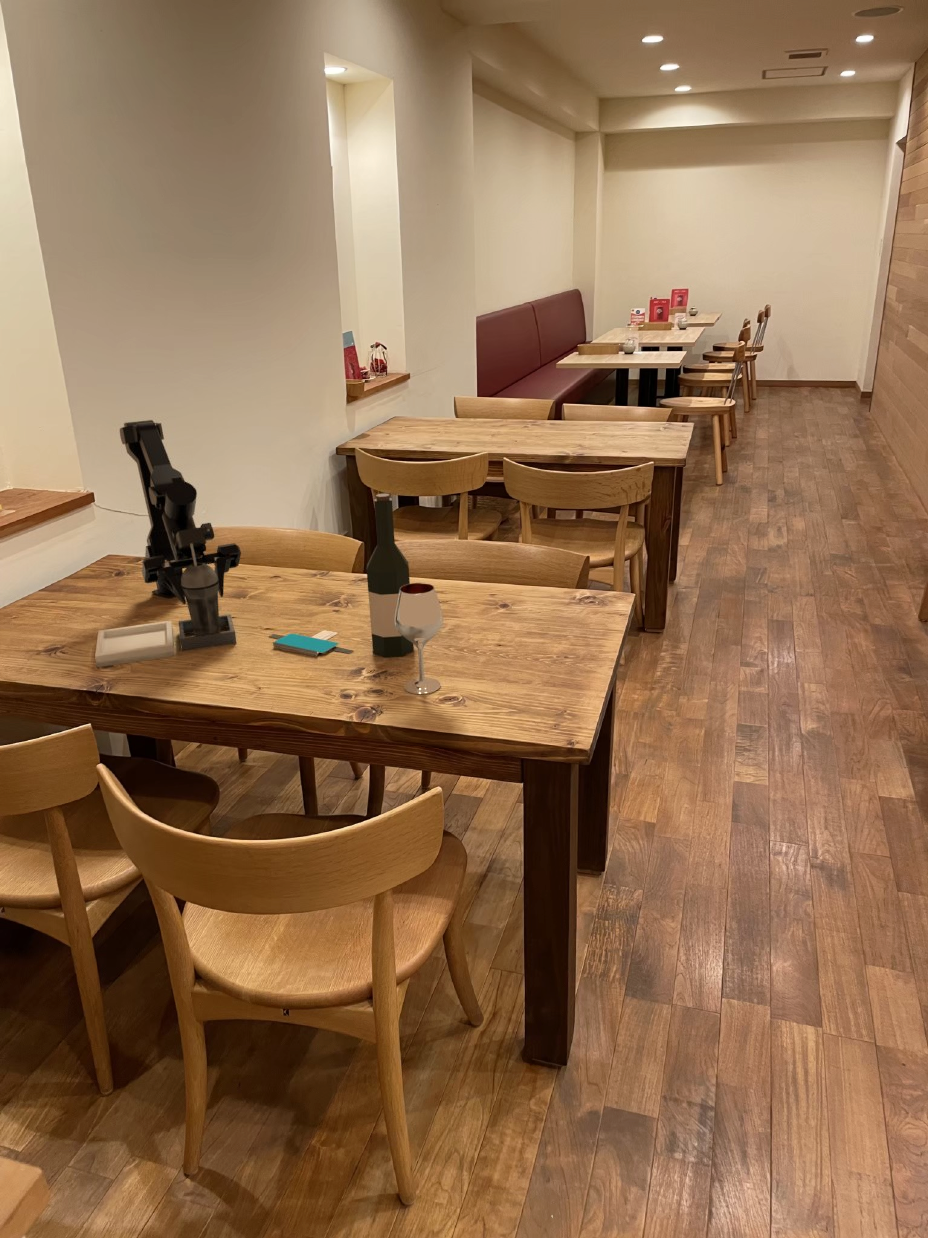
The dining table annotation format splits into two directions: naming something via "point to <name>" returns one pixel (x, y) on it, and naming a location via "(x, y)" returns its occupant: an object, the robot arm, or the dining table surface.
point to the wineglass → (419, 627)
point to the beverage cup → (201, 596)
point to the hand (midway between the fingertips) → (203, 599)
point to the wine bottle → (386, 584)
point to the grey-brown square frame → (207, 635)
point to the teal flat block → (308, 643)
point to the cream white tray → (134, 643)
